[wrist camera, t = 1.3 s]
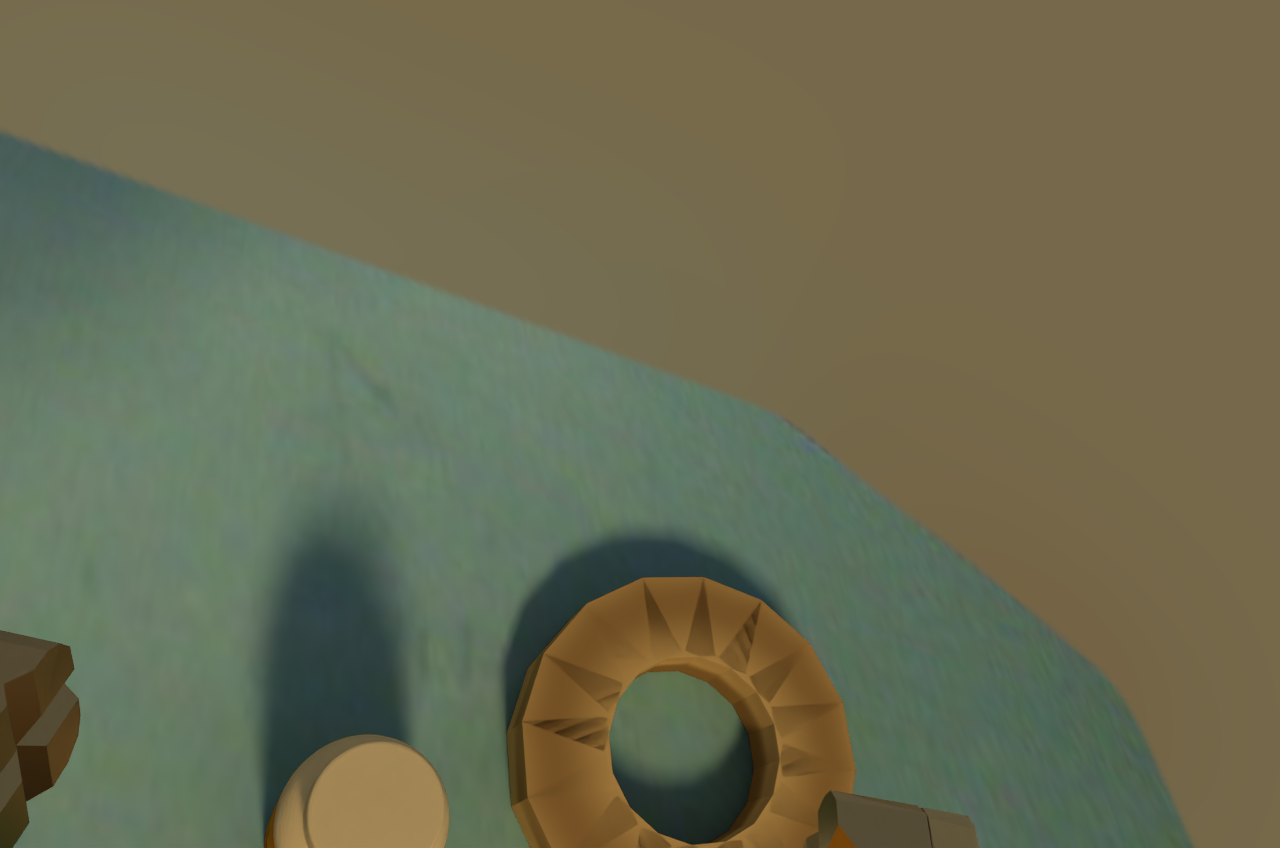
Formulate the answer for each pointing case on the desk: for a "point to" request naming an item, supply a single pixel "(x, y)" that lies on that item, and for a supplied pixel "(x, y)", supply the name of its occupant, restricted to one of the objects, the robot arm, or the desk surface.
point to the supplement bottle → (361, 799)
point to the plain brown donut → (698, 646)
